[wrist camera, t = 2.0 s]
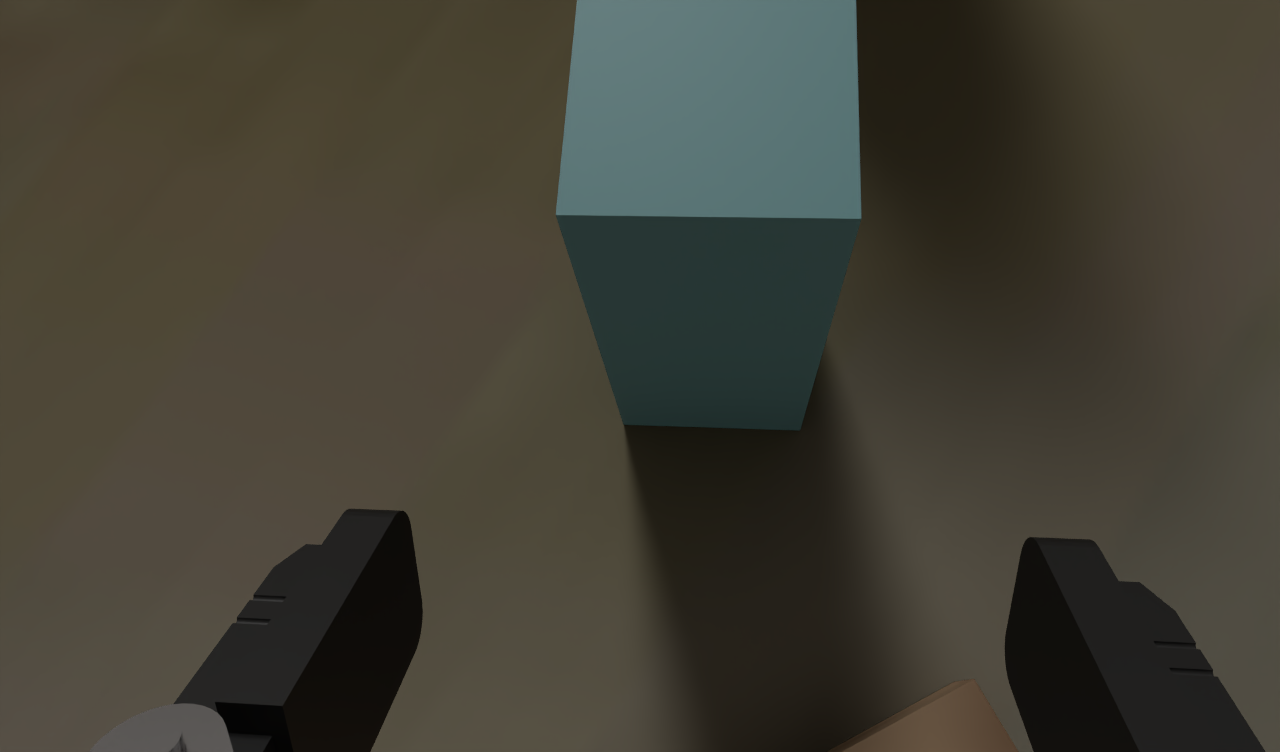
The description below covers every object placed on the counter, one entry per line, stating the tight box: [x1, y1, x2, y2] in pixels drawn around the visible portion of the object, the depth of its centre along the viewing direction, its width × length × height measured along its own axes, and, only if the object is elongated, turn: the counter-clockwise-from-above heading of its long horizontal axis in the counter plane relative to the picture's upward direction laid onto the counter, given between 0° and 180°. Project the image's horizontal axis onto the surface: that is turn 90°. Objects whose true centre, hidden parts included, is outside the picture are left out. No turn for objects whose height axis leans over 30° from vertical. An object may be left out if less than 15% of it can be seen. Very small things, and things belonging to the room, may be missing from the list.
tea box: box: [556, 0, 861, 430], centre depth 22 cm, size 5×5×12 cm
